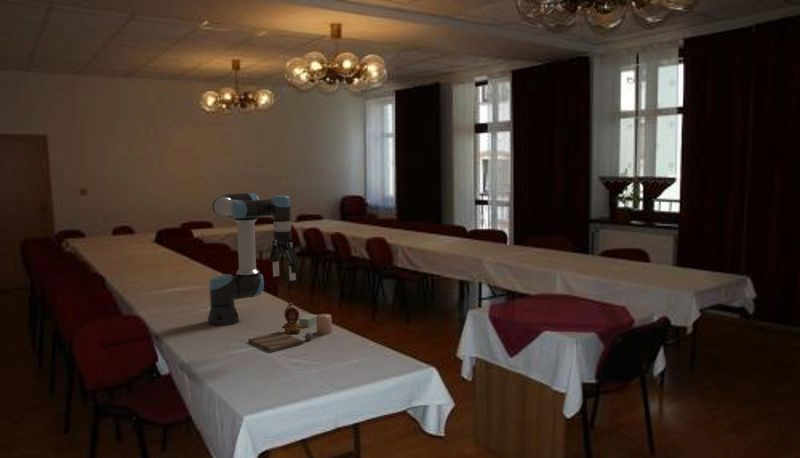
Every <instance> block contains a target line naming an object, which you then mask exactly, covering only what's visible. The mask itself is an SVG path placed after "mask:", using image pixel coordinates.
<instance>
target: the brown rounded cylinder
mask: <svg viewBox="0 0 800 458" xmlns="http://www.w3.org/2000/svg"><path fill="white" fill-rule="evenodd" d="M316 315H317V316H316V320H317V324H316V334H317V335H322V336H323V335H324V336H325V335H329V334H331V333H332V332H333V329H332V327H333V325H332V322H333V321H332V315H331V314H329V313H321V314H316Z"/></svg>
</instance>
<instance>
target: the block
mask: <svg viewBox="0 0 800 458" xmlns="http://www.w3.org/2000/svg"><path fill="white" fill-rule="evenodd" d="M317 315H318V314H313V313H312V314H311V313H309V314H306V315H304V316H301V317H299V318H298V323H299V324H301V326H303V327H306V328H310V327H312V326H316V325H317V320H316V316H317Z"/></svg>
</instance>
